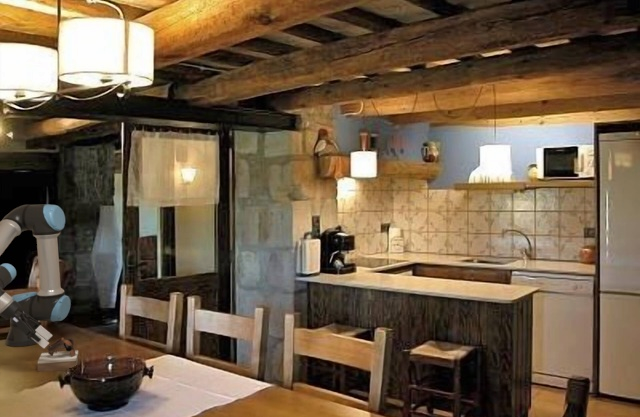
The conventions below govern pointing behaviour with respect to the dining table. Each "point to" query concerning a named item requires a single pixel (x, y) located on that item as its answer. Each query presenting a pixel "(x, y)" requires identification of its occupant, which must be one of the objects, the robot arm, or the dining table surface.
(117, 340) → the dining table surface
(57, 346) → the brown black arched figure
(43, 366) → the pale flat block
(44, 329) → the robot arm
